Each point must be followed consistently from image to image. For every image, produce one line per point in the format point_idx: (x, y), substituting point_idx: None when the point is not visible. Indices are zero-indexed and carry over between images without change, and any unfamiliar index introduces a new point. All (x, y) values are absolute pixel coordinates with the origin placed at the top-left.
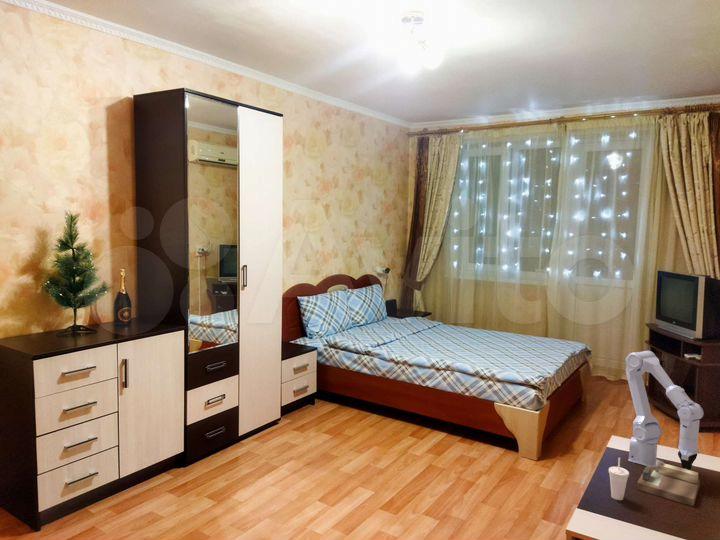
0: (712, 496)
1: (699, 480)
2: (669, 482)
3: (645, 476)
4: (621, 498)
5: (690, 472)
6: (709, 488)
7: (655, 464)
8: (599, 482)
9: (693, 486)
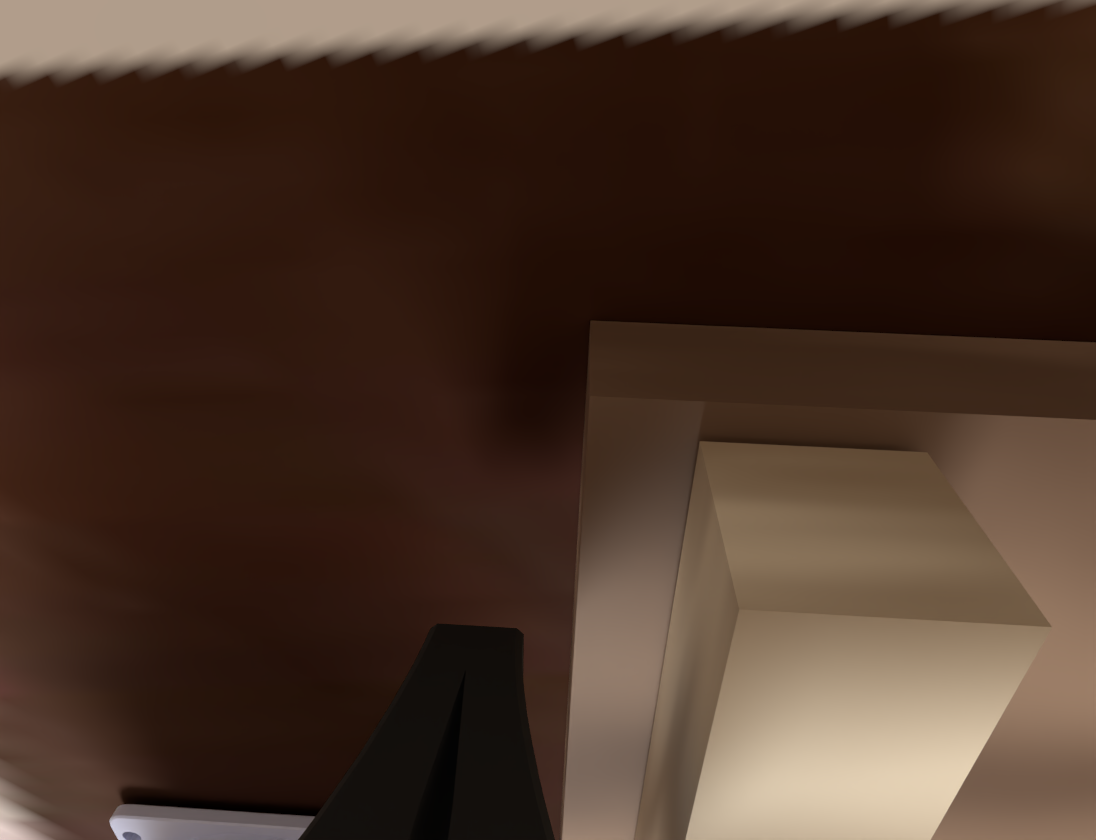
0: (999, 25)
1: (639, 405)
2: (1064, 793)
3: None
4: None
5: (871, 757)
6: (547, 127)
7: (292, 835)
8: None
9: (1092, 493)
